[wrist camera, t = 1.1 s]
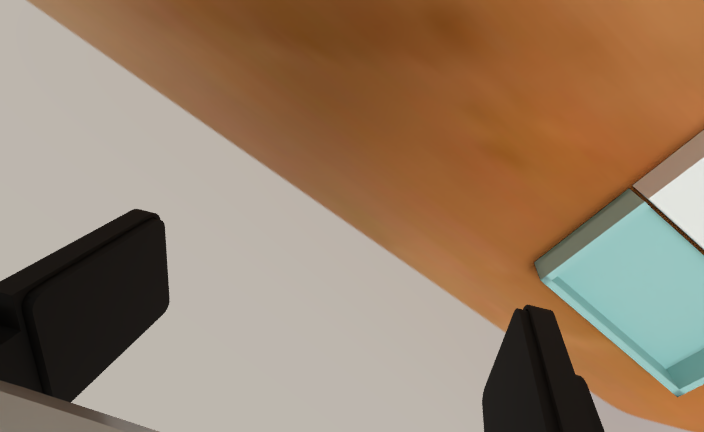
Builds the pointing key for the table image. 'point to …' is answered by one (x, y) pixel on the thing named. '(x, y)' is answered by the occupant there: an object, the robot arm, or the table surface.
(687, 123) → the table surface
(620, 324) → the tray
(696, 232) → the white flat block
